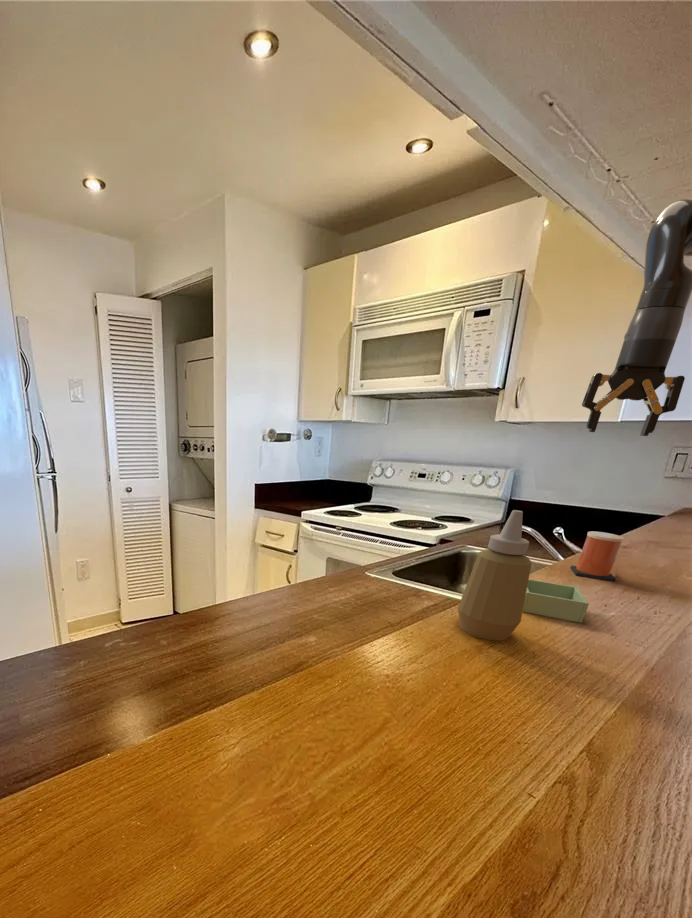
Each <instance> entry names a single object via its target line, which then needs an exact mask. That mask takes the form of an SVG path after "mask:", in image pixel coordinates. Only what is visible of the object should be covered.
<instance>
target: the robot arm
mask: <svg viewBox="0 0 692 918" xmlns="http://www.w3.org/2000/svg"><path fill="white" fill-rule="evenodd" d="M644 251H645V252H644V253H645V254H644V267H643V268H644V269H643V270H644V271H643V285H642V286H643V287H642V290H641V293H640V296H639V299H638V302H637V305H636V307H635V311H634V314H633V316H632V317H631V320H630V323H629V325H628V328H627V330H626V332H625V335H624V337H623V342H622V346H621V349H620V351H619V355H618V358H617V361H616V364H615V367H614V370H613V372H612V373H611V374H603V373H602V372H598V373H595V374H593V375H592V376H591V379H590V381H589V384H588V387H587V389H586V393H585V394H584V397H583V400H582V402H581V407H583V408H585V409H588V410H589V412H590V413H589V417H588V420H587V422H586V429H588V432H589V433H595V432H596V430H597V427H598V424H599V421H600V418H601V415H602V411H601V410H602V409H604V407H606V406H607V405H608V404H609V403H611V402H612V401H613V400H615V399H617V400H618V401H620V400H621V401H624V400H630V401H643V404H644V405H645V406H646V408H647V410H648V412H649V414H646V416H645V417H646V418H645V421H644V423H643V424H642V425H643V426H642V429H641V431H640V437H648V436H649V434H652V433H653V432H654V431H655V428H656V427H657V423H658V421H659V418H660V416H661V415H663V414H667V413H669V412H674V411H675V410H676V409H677V405H678V402H679V399H680V396H681V392H682V389H683V385H684V383H685V381H686V377H685V376H684V375H676V376H666V374H665V373H666V369H667V367H668V364H669V361H670V359H671V356H672V353H673V350H674V347H675V344H676V341H677V339H678V336H679V333H680V330H681V328H682V324H683V321H684V316H685V315H684V314H685V312H686V308H687V306H688V303H689V300H690V297H691V295H692V269H691V268H690V267H688V266H687V265H686V264H685V257H692V199H690V198H689V199H679V200H676V201H674V202H672V203H670V204H669V205H667V206H666V207H665V208H664V209H663V210H662V211H661V212H660V213H659V215H658V216H657V217H656V218H655V220H654V222H653V224H652V225H651V228H650V229H649V232H648V235H647V238H646V243H645V250H644ZM606 382H607V383H608V385H609V388H610V391H608V392H607V393H606V394H605V395H603V396H602V397H601V399H599V400H598V401H596V402H595V401H594V399H595V397H596V394H597V392H598V389H599V387H602V386H603V385H604V384H605V383H606ZM662 385H664V386H665V389H666V390H667V393H666V397H665V399H664V403H663V405H661V403H660V401H659V400H660V399H659V397H658V395H657V393H656V390H657V389H658V388H660V387H661V386H662Z"/></svg>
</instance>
